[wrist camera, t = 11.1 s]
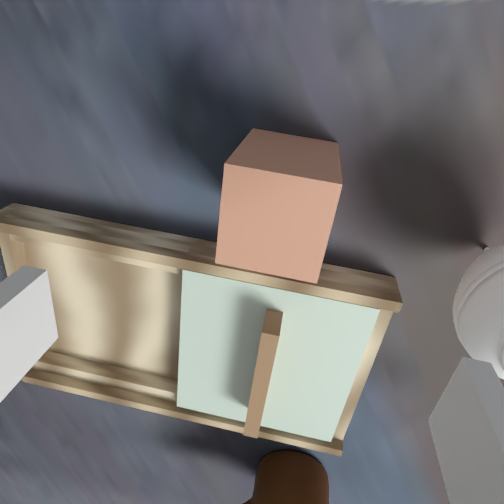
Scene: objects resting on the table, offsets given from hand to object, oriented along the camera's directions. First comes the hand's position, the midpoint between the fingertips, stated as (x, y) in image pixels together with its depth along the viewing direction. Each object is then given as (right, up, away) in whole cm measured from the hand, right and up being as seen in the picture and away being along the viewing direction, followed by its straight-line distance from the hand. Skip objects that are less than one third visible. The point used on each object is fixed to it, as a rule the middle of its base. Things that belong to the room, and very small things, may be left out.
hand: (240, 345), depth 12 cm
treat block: (+3, +8, +14) cm, 17 cm away
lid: (+1, -6, +19) cm, 20 cm away
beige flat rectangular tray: (-5, -3, +22) cm, 23 cm away
